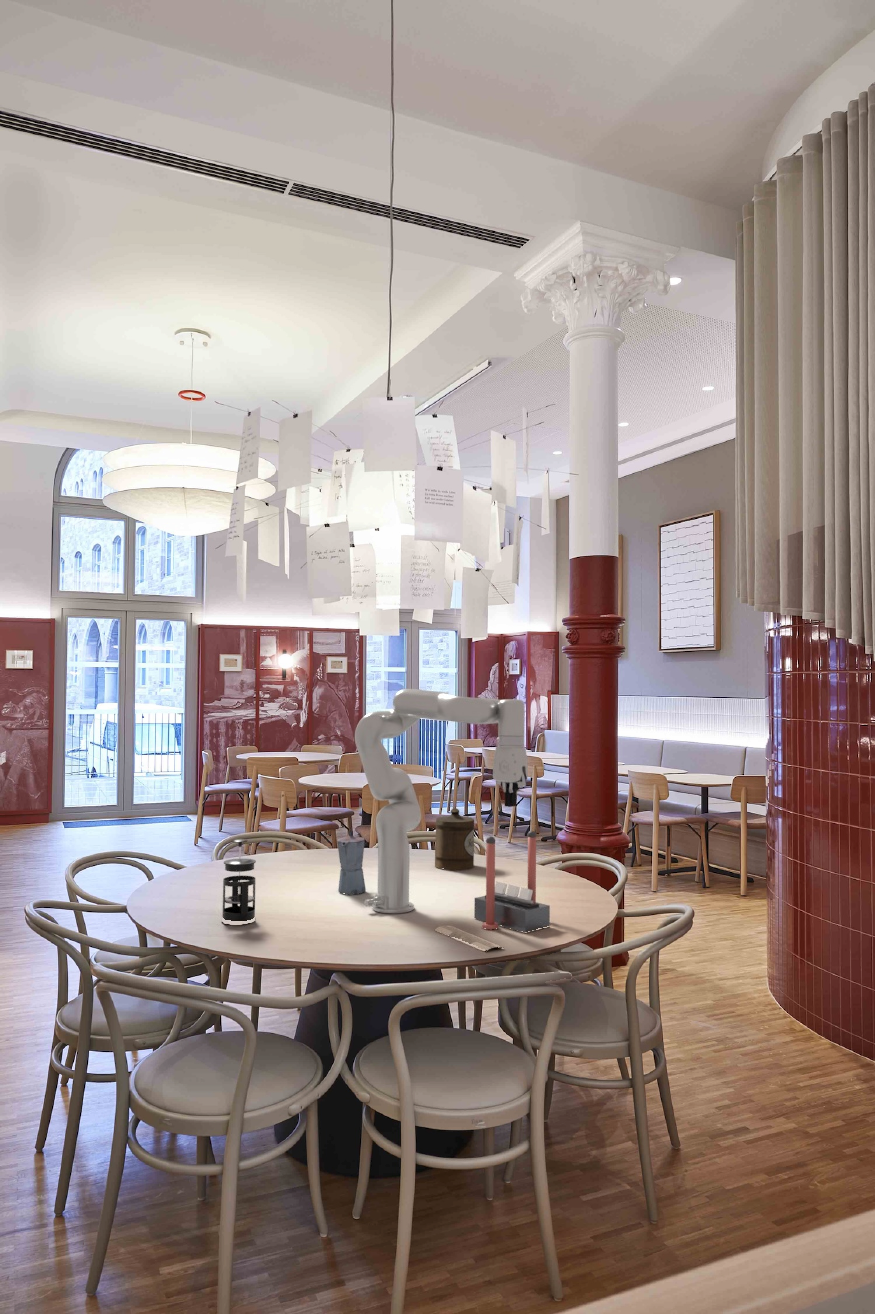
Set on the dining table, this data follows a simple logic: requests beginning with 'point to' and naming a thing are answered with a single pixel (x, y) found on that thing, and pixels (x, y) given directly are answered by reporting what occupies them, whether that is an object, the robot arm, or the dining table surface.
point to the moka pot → (351, 864)
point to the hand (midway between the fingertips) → (510, 806)
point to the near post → (490, 885)
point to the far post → (532, 863)
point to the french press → (242, 898)
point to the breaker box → (515, 913)
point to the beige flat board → (467, 937)
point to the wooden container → (454, 842)
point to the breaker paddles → (513, 892)
